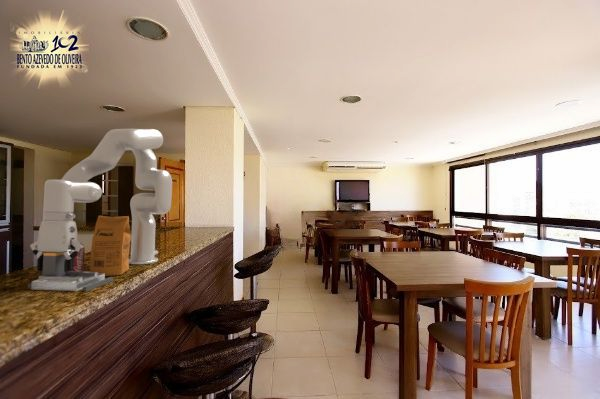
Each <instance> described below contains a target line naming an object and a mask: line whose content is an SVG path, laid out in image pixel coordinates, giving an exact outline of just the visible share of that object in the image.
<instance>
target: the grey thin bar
mask: <svg viewBox="0 0 600 399" xmlns="http://www.w3.org/2000/svg"><path fill="white" fill-rule="evenodd" d="M114 280H115V278H114V276H108V277H107V278H105V279H104V280H101V281H98V282H96V283H93V284H90V285H87V286H85V287H83V289H81V290H82V292H88V291H90V290H93V289H96V288H98V287H101V286H104V285H106V284H108V283H112V282H114Z"/></svg>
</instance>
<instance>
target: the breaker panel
mask: <svg viewBox="0 0 600 399" xmlns="http://www.w3.org/2000/svg"><path fill="white" fill-rule="evenodd" d="M105 277H106V276H105V273H97V272H90V271H83V272H82V271H69V272H65V275H63V276H45V275H43V274H42V275H39V276H38V279H36V280H35V279H34V280H32V281H31V283H32V287H31V288H30V289H31V290H40V291H64V292H65V291H66V292H67V291H68V292H69V291H70V292H77V291H80V290H83V287H85V286H87V285H90V284H93V283H96V282H98V281H101V280H104V279H106V278H105Z"/></svg>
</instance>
